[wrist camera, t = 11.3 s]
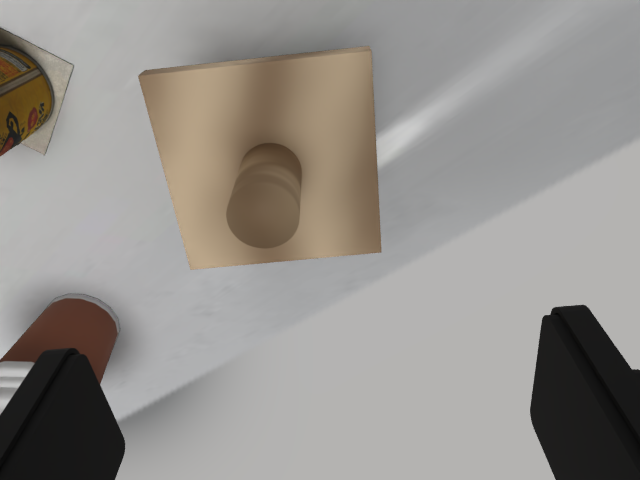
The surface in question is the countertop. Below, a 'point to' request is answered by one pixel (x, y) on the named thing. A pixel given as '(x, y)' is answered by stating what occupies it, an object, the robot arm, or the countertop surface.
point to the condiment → (29, 93)
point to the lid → (269, 156)
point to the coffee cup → (61, 339)
